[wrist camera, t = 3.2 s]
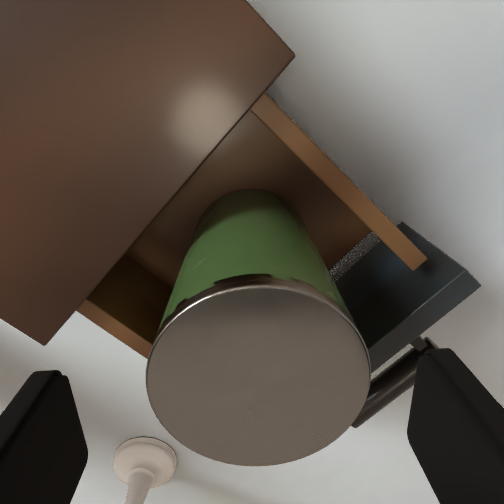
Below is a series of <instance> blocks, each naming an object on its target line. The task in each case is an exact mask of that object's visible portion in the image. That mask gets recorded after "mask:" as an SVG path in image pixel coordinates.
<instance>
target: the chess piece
mask: <svg viewBox="0 0 504 504" xmlns="http://www.w3.org/2000/svg"><path fill="white" fill-rule="evenodd" d="M176 463H177V459H176V455H175V453H174V451H173V450H172V449H171V448H170V447H169V446H168V445H167V444H165V443H164V442H162V441H160V440H157V439H154V438H148V437H139V438H134V439H130V440H128V441H126V442H124V443H123V444H121V445H120V446H119V447H118V449H117V450H116V453H115V457H114V462H113V467H114V471H115V473H116V475H117V476H118V477H119V479H120V480H122V481H123V482H124V483H126V484H128V489H127V496H126V502H125V504H143V503H144V501H145V498H146V495H147V493H148V490H149V488H155V487H158V486H161V485H163V484H164V483H166V482H167V481H168V480H169V479H170V478H171V477H172V475H173V473H174V469H175V467H176Z"/></svg>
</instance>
